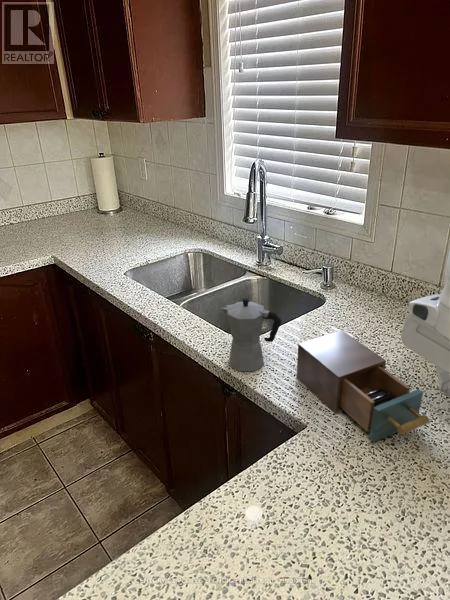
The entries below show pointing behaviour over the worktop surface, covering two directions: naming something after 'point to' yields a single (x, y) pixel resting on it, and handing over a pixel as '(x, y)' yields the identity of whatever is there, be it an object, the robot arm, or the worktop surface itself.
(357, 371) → the cabinet
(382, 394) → the clip
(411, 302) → the robot arm
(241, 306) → the coffeepot
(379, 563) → the worktop surface
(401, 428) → the drawer
